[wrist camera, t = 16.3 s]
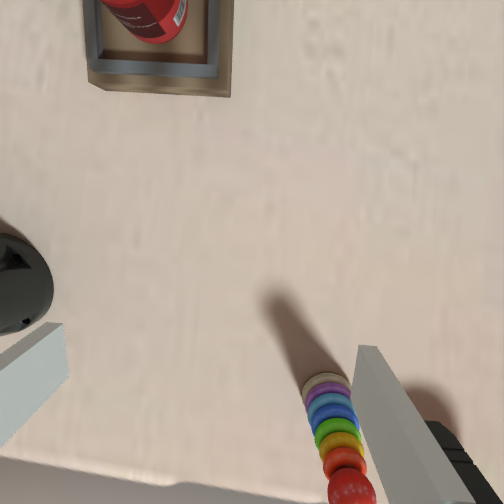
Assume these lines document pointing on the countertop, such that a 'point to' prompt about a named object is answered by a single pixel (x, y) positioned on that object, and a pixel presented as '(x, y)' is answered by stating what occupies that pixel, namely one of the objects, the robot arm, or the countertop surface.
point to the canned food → (150, 18)
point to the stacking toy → (338, 439)
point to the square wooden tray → (162, 53)
